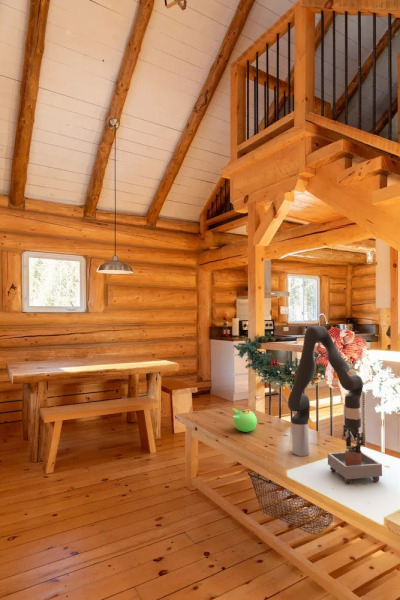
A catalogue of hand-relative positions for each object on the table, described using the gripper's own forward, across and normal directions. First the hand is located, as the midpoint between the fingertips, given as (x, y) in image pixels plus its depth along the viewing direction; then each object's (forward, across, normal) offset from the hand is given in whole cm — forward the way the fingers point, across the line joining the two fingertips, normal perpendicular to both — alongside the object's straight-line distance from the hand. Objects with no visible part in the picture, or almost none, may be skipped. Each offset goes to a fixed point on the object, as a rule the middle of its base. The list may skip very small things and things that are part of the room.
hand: (353, 449), depth 191 cm
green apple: (+14, -81, -33) cm, 88 cm away
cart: (+13, 0, 0) cm, 13 cm away
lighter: (+8, 0, 0) cm, 8 cm away
